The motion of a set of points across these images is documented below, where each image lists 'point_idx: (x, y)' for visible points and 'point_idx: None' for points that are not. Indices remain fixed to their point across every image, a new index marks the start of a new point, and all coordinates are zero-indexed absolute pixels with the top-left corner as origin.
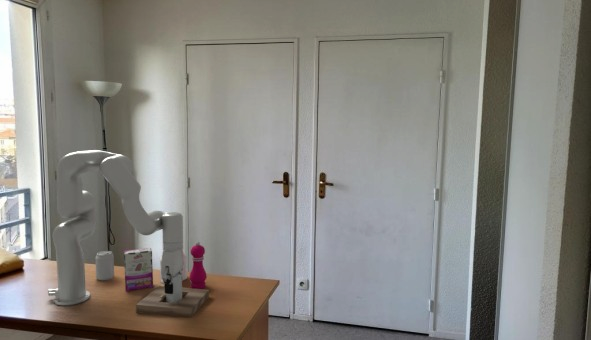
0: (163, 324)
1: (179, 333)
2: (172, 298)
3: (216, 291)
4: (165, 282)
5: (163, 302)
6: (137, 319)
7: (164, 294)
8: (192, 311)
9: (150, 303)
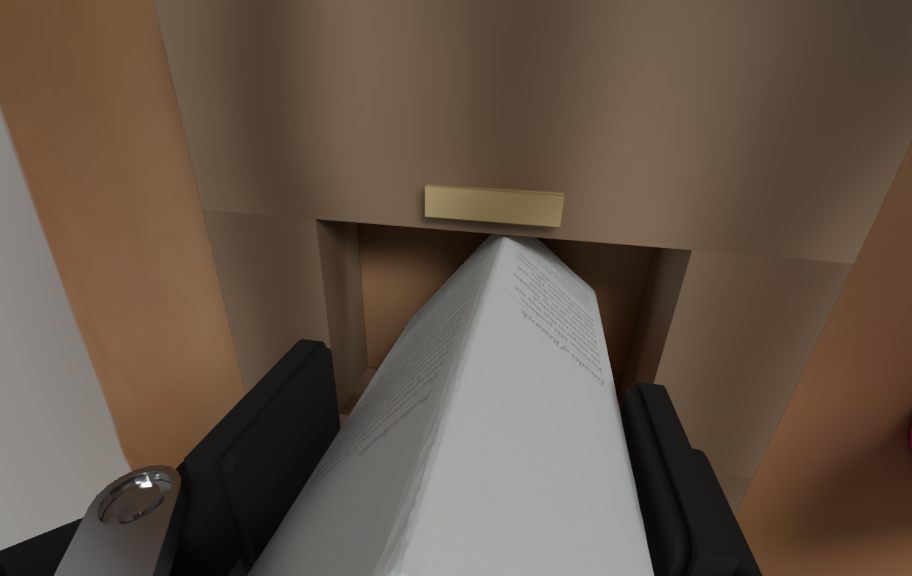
0: (158, 332)
1: (123, 444)
2: (377, 372)
3: (804, 571)
4: (48, 557)
5: (319, 281)
6: (117, 77)
7: (513, 220)
8: None
9: (246, 134)
